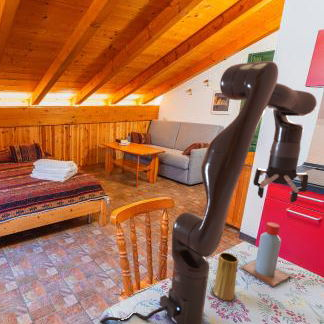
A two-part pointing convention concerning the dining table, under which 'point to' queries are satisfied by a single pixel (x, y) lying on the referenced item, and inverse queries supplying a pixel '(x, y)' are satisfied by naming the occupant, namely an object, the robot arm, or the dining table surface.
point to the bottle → (267, 254)
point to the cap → (272, 228)
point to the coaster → (272, 280)
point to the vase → (226, 276)
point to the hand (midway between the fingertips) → (275, 199)
